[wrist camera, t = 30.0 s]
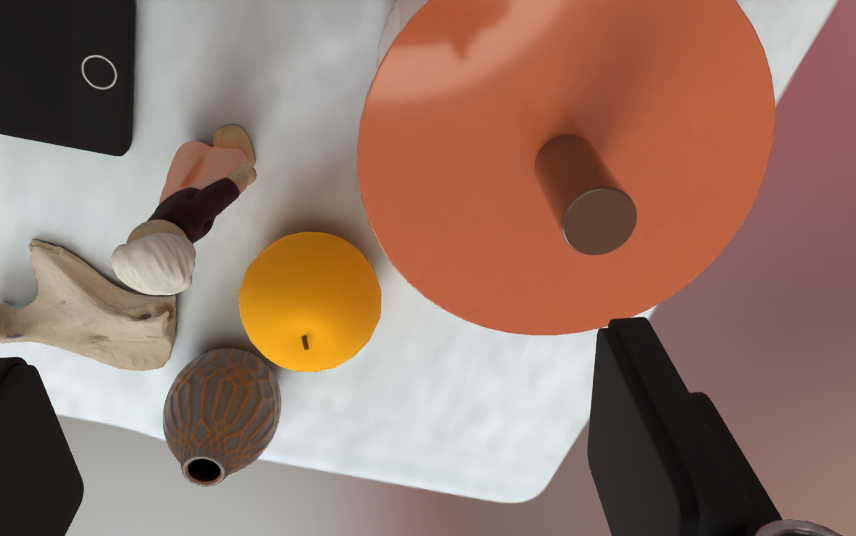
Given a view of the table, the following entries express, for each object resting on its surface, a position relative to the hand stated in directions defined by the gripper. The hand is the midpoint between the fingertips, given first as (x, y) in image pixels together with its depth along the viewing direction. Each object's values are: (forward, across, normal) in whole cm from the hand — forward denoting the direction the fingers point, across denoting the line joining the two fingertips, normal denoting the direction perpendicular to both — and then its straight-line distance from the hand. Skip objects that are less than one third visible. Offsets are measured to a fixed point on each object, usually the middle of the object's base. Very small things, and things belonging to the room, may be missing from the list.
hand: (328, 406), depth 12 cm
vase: (+28, +11, +21) cm, 37 cm away
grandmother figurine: (+28, +10, +6) cm, 31 cm away
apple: (+28, +5, +13) cm, 32 cm away
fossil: (+28, +19, +14) cm, 37 cm away
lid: (+16, -7, +2) cm, 18 cm away
